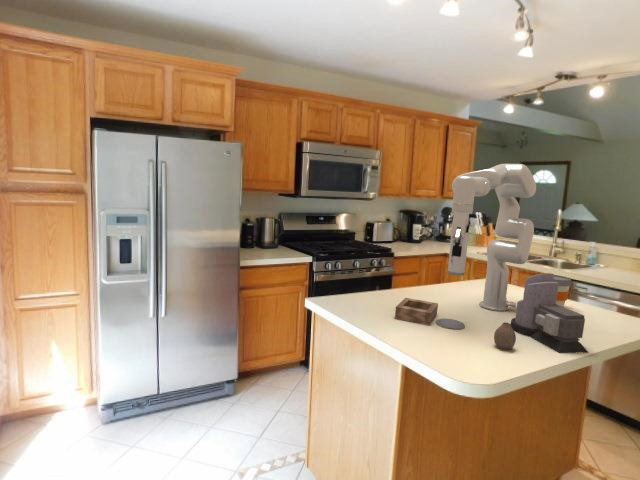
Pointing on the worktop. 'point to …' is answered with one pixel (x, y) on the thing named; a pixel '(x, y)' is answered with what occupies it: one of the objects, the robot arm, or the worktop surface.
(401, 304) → the brown wooden tray
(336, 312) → the worktop surface
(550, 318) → the juicer
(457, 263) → the travel mug
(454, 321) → the rubber coaster
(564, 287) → the reusable coffee cup
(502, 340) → the vase
